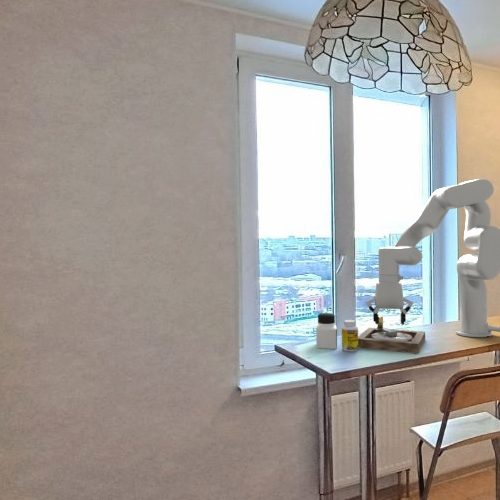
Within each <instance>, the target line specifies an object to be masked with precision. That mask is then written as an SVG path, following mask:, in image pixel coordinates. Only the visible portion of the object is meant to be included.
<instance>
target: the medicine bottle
mask: <svg viewBox="0 0 500 500" xmlns="http://www.w3.org/2000/svg"><path fill="white" fill-rule="evenodd" d="M335 317H336V315H335V314H334V313H332V312H321V313H319V314H318V315H317V325H316V328H315V332H316V333H315V334H316V335H315V336H316V337H315V338H316V339H315V341H316V342H315V343H316V345H315V347H316V349H321V348H327V349H329V350H336V349H338V335H337V334H338V333H337V329H338V326H337V325H336V319H335Z"/></svg>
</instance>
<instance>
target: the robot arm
mask: <svg viewBox="0 0 500 500" xmlns="http://www.w3.org/2000/svg"><path fill="white" fill-rule="evenodd" d="M494 191H495V189H494V185H493V183H492V182H491V181H490V180H488V179H486V178H476V179H473V180H468V181H467V180H466V181H464V182H463V181H462V182H460V183H459V184H455V185H451V186H446V187H441V188H439V189H435V191H433V193H432V194H431V195H430V197H429V199H428V200H427V202H426V203H425V205H424V206H423V208H422V210H421V211H420V213H419V215H418V216H417V217H416V219H415V220H414V221H413V222H412V223H411V224H410V225H409V227H408V228H406V229H405V231H404V232H403V233H402V234H401V235H400V236H399V238H398V240H397V241H396V243H395V244H394V246H386V247H385V246H382V247H380V248H379V249H378V282H376V284H375V291H374V293H375V294H374V295H375V296H374V297H373V298H370V299H369V300H366V301H365V304H366V306H367V309H369V310H370V311H371V312H372V315H373V322H374V323H375V324H376V325H378V316H379V314H378V312H379V310H380V309H381V310H400V311H401V312H400V323H401V325H405V323H406V321H407V320H406V318H407V317H406V314H407V313H408V312H409V311H410V310H411V309H412V306H413V305H414V302H413V301H411V300H409V299H408V298H405V297H404V292H403V285H402V282H400V281H402V280H404V275H400V266H406V267H414V266H417V265H418V264H419V263H421V262H422V259H423V253H422V251H421V250H420V249H419V248H418V247H417V245H418V244H419V243H420V242H421V241H422V240H423V239H426V238H427V237H429V236H431V235H432V234H433V233H436V231H437V230H439V227H440V226H441V224H442V222H443V220H445V218H446V215H447V214H448V212H449V211H450V210H452V209H459V208H464V211H465V215H466V216H465V226H464V227H465V228H464V233H463V245H464V247H465V248H466V249H468V250H470V251H475V252H476V251H478V252H477V253H467V254H464V255H462V256H461V257H459V259H458V261H457V262H456V273H457V277H458V286H459V287H458V288H459V328H457V329H456V330H455V334H456V335H458V336H463V337H469V338H488V337H487V336H489V337H492V335H493V333H492V332H495V333H496V332H500V326H497V325H491V324H489V323H488V303H487V302H488V297H487V292H488V289H487V285H486V281H491V280H494V279H495V278H497V277H498V276H499V274H500V228H499V227H497V226H493V225H491V218H492V217H491V215H492V214H491V208H490V206H489V204H488V203H487V202H486V201H487V200H489V199H490V198H491V197H492V195H493V194H494ZM373 303H374V306H375V307H374V308H373V306H372V304H373ZM405 303H407V306H406V307H404V305H405Z"/></svg>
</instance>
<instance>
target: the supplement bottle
mask: <svg viewBox="0 0 500 500" xmlns="http://www.w3.org/2000/svg"><path fill="white" fill-rule="evenodd" d="M356 325H357V324H356V320H354V319H353V320H352V319H346V320H343V325H342V326H341V349H342V350H343V352H344V351H345V352H351V353H352V352H357V351H358V350H359V348H358V336H359V327H358V326H356Z"/></svg>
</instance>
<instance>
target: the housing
mask: <svg viewBox="0 0 500 500" xmlns="http://www.w3.org/2000/svg"><path fill="white" fill-rule="evenodd" d="M387 329H388V330H391V331H396V332H398V333H405V334H408V335H411V336H412V342H410V341H397V340H385V339H373V338H372V334H374V333H378V332H383V331H381V330H379V329H377V327H368V328H366V329H365V330H364V331H363V332H362V333H360V335H359V334H358V349H367V350H377V351H378V350H379V351H389V352H398V353H410V354H411V353H412V354H420V352H421V350H422V347H423V346H424V344H425V342H426V331H424V330H423V331H422V330H420V331H419V330H410V329H394V328H393V329H392V328H387Z"/></svg>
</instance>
